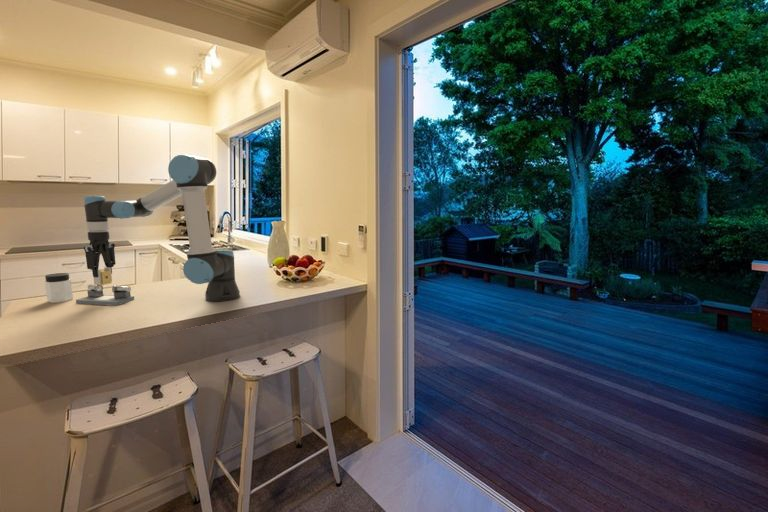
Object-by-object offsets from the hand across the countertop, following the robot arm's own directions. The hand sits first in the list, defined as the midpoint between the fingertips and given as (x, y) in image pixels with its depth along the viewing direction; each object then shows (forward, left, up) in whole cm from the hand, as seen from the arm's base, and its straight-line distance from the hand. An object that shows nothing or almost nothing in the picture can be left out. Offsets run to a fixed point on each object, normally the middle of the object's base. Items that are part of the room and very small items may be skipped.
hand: (103, 282), depth 168 cm
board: (0, 0, -9) cm, 9 cm away
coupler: (0, 0, -1) cm, 1 cm away
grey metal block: (-7, -2, -7) cm, 10 cm away
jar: (+21, +2, -9) cm, 23 cm away
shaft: (+7, -2, -7) cm, 10 cm away
